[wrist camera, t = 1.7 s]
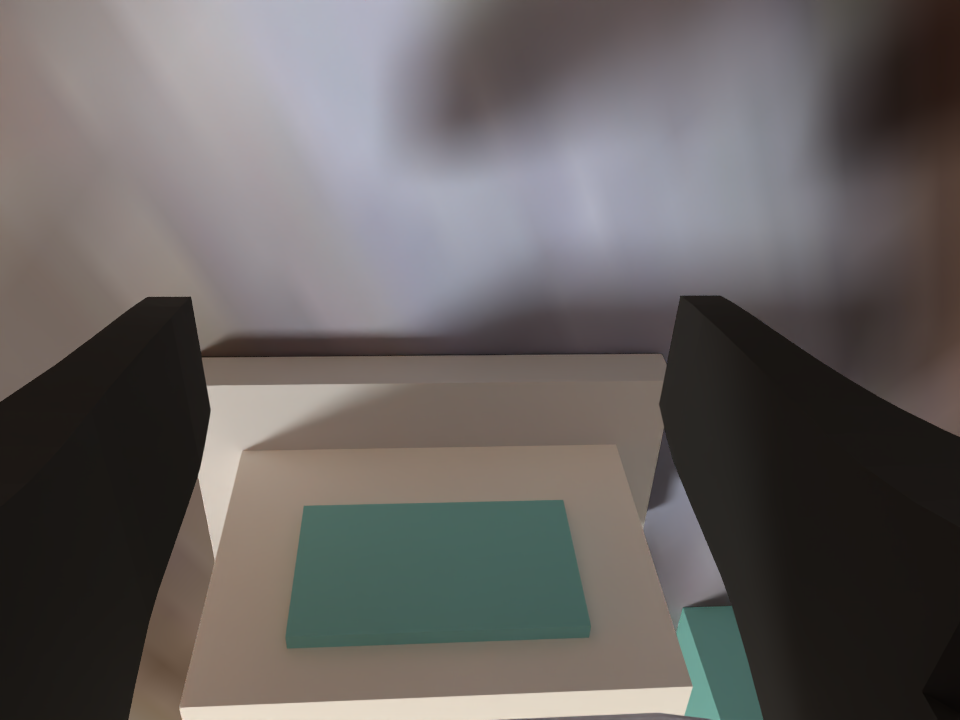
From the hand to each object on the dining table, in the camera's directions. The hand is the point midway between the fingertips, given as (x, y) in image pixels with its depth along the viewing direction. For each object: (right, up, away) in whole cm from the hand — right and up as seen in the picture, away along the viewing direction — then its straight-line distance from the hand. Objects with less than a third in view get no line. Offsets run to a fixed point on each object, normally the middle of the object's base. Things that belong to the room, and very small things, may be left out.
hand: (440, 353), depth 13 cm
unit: (0, -2, +7) cm, 7 cm away
